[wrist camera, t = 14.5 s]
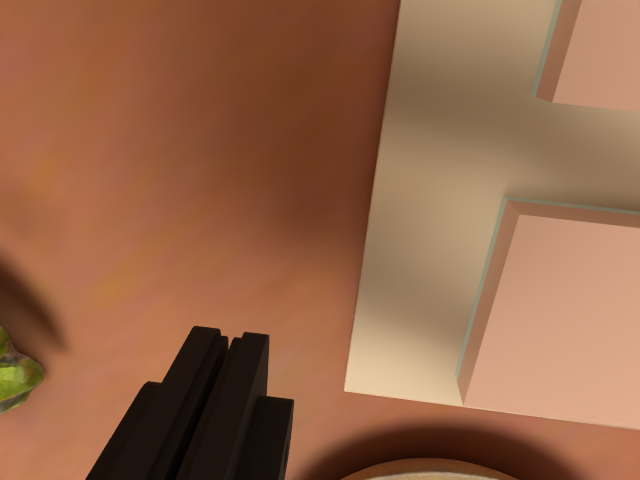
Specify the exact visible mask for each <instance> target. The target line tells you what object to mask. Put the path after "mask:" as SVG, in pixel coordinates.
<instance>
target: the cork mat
mask: <svg viewBox="0 0 640 480" xmlns="http://www.w3.org/2000/svg"><path fill="white" fill-rule="evenodd" d="M555 4H556V0H400V5H399V12H398V19H397V26H396V32H395V39H394V46H393V53H392V60H391V67H390V73H389V80H388V87H387V94H386V101H385V107H384V114H383V121H382V128H381V135H380V142H379V148H378V155H377V162H376V169H375V176H374V183H373V189H372V196H371V203H370V210H369V217H368V223H367V230H366V237H365V244H364V251H363V258H362V264H361V271H360V278H359V285H358V292H357V299H356V305H355V312H354V319H353V326H352V333H351V339H350V346H349V353H348V360H347V367H346V374H345V380H344V391H347V392H354V393H362V394H370V395H377V396H385V397H392V398H400V399H407V400H415V401H423V402H430V403H438V404H445V405H453V406H460V407H468V408H476V407H469V406H463V403H462V399H461V395H460V392H459V388H458V384H457V381H456V377H455V371H456V368H457V364H458V360H459V357H460V353H461V349H462V346H463V342H464V338H465V335H466V331H467V327H468V324H469V320H470V316H471V312H472V309H473V305H474V301H475V298H476V294H477V290H478V287H479V283H480V279H481V276H482V272H483V268H484V265H485V261H486V257H487V254H488V250H489V246H490V243H491V239H492V235H493V232H494V228H495V224H496V221H497V217H498V213H499V210H500V206H501V202H502V199H503V196H509V197H518V198H527V199H536V200H545V201H553V202H562V203H571V204H580V205H588V206H597V207H606V208H615V209H623V210H632V211H640V112H636V111H626V110H617V109H607V108H598V107H589V106H579V105H570V104H560V103H552V102H549V101H546V100H544V99H541V98H538V97H535V96H533V95H531V92H532V89H533V85H534V81H535V78H536V74H537V70H538V67H539V63H540V59H541V56H542V52H543V48H544V45H545V41H546V37H547V34H548V30H549V26H550V22H551V19H552V15H553V11H554V8H555ZM476 409H483V410H491V409H484V408H476ZM491 411H498V412H506V413H514V412H507V411H499V410H491ZM514 414H521V415H529V414H522V413H514ZM529 416H536V417H544V418H551V419H559V420H567V419H560V418H552V417H545V416H537V415H529ZM567 421H574V422H582V421H575V420H567ZM582 423H589V424H597V425H604V426H612V427H620V426H613V425H605V424H598V423H590V422H582ZM620 428H627V429H635V428H628V427H620ZM635 430H640V429H635Z"/></svg>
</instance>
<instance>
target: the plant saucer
mask: <svg viewBox="0 0 640 480" xmlns="http://www.w3.org/2000/svg"><path fill="white" fill-rule="evenodd" d="M341 480H518V479H516V478H514V477H512V476H509V475H507V474H504V473H502V472H499V471H496V470H493V469H490V468H487V467H483V466H480V465H476V464H473V463H469V462H465V461H459V460H453V459H443V458H409V459H401V460H395V461H390V462H385V463H381V464H377V465H374V466H371V467H368V468H365V469H363V470H360V471H358V472H355V473H353V474H351V475H349V476H347V477H345V478H343V479H341Z"/></svg>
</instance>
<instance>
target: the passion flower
mask: <svg viewBox="0 0 640 480" xmlns="http://www.w3.org/2000/svg"><path fill="white" fill-rule="evenodd" d="M44 377H45V372H44V368H43V366H42V365H41V363H38V362H37V361H36V360H34V359H32V358H30V357H29V356H27V355H24V354H21V353H18V352H17V351H16V350H15V349H14V348H13V346H12V343H11V337H10V335H9V333H8V332H7V331H6V330H5V329H4V328H3V327H2V326H1V325H0V414H2V413H5V412H7V411H9V410H11V409H12V408H14V407H17V406H19V405H21V404H22V403H24V402H25V401H26V399H27V398H28V396H29V394H30V392H31V391H32V390H33V389H34V388H35V387H36V386H38V385H39V384H40V383H41V382H42V381H43V380H44Z"/></svg>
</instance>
